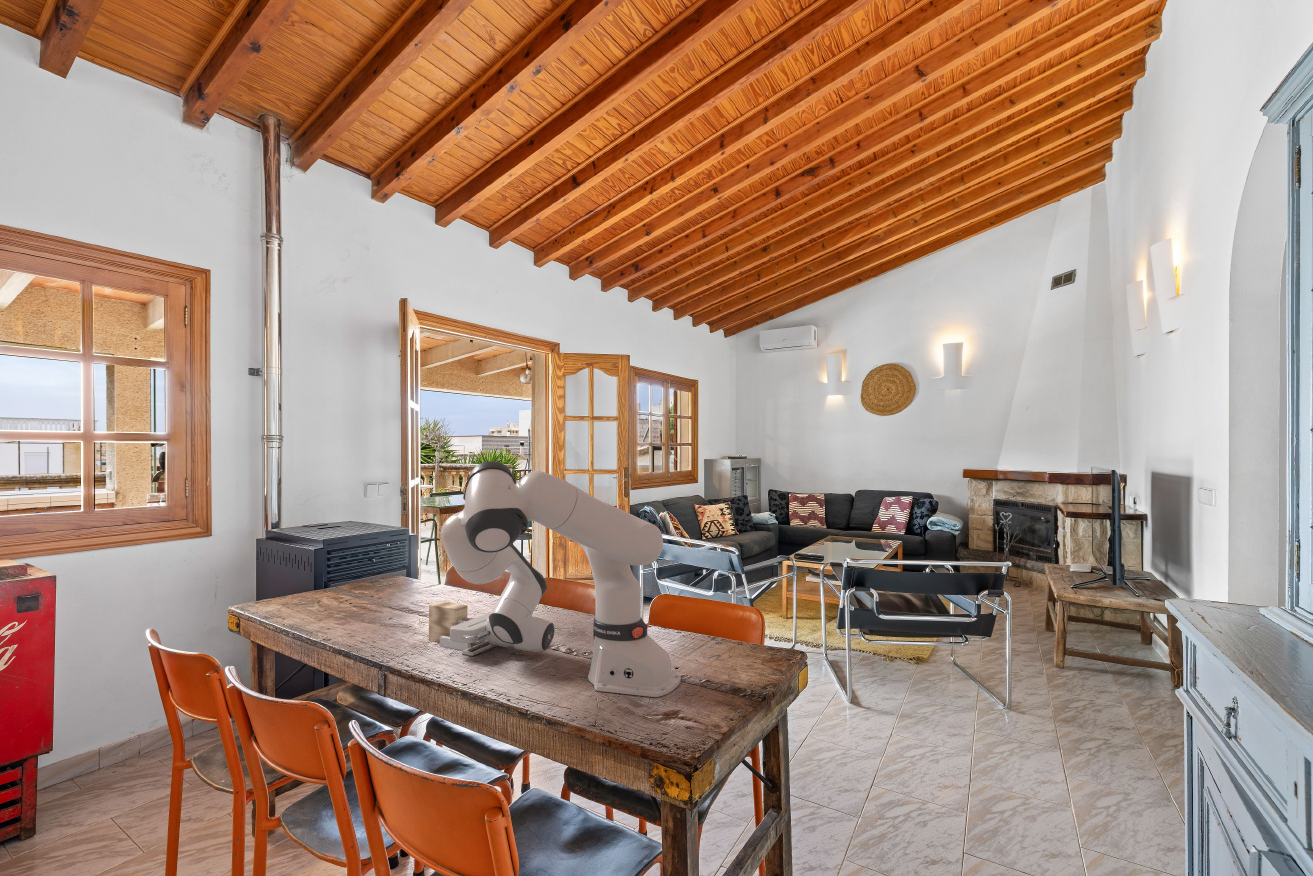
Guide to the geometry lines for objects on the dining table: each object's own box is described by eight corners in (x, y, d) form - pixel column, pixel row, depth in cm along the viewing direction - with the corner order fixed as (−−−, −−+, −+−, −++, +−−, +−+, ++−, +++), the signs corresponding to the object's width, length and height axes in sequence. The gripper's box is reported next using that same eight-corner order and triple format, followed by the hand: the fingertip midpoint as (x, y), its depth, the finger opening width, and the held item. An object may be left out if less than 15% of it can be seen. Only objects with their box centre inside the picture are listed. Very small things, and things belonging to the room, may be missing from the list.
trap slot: (506, 641, 169) (506, 637, 169) (472, 656, 156) (472, 653, 156) (497, 639, 171) (497, 636, 171) (462, 654, 158) (462, 650, 158)
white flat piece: (489, 641, 168) (489, 633, 168) (467, 651, 160) (467, 642, 160) (462, 636, 173) (462, 628, 173) (439, 646, 165) (439, 636, 165)
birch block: (467, 640, 169) (467, 605, 169) (455, 645, 165) (456, 609, 165) (440, 635, 173) (440, 601, 174) (428, 640, 169) (429, 605, 169)
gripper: (474, 652, 152) (433, 644, 158) (523, 630, 170) (485, 623, 176) (474, 627, 152) (433, 620, 158) (523, 608, 171) (485, 602, 176)
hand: (461, 621), depth 167 cm, fingers closed, pressing on birch block
